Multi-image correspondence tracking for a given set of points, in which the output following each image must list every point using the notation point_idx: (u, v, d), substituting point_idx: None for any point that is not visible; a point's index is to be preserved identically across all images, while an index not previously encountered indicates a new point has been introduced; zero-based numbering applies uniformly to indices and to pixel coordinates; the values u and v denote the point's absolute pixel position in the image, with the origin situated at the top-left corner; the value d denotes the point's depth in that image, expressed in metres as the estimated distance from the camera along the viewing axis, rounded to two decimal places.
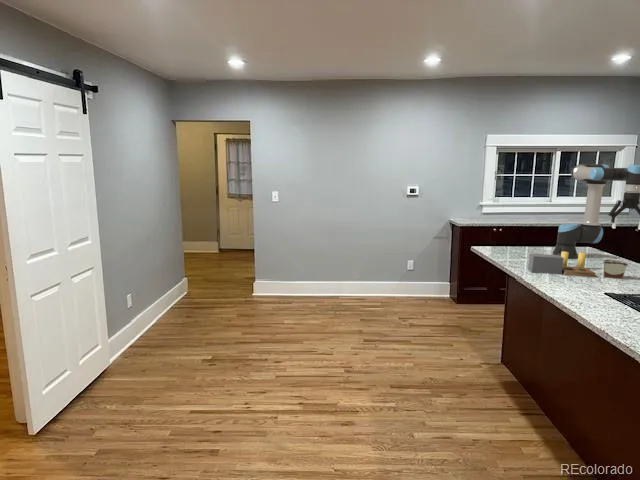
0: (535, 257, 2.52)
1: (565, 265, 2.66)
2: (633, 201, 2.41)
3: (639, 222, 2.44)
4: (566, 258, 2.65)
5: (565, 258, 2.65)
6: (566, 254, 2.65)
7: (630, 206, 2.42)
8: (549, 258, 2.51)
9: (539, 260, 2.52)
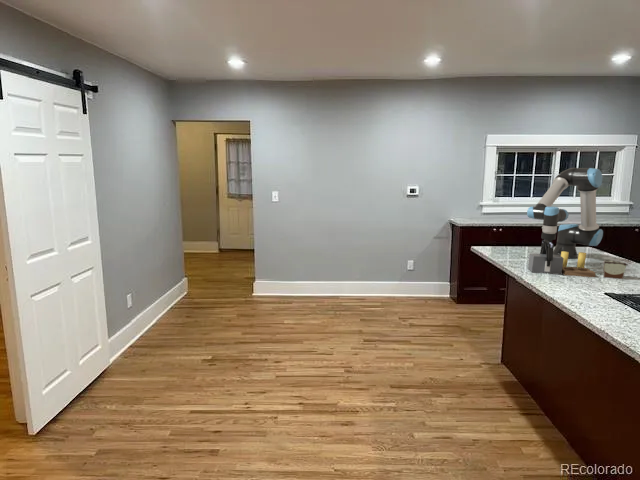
0: (535, 257, 2.52)
1: (565, 265, 2.66)
2: (546, 240, 2.52)
3: None
4: (566, 258, 2.65)
5: (565, 258, 2.65)
6: (566, 254, 2.65)
7: (545, 245, 2.54)
8: (549, 258, 2.51)
9: (539, 260, 2.52)
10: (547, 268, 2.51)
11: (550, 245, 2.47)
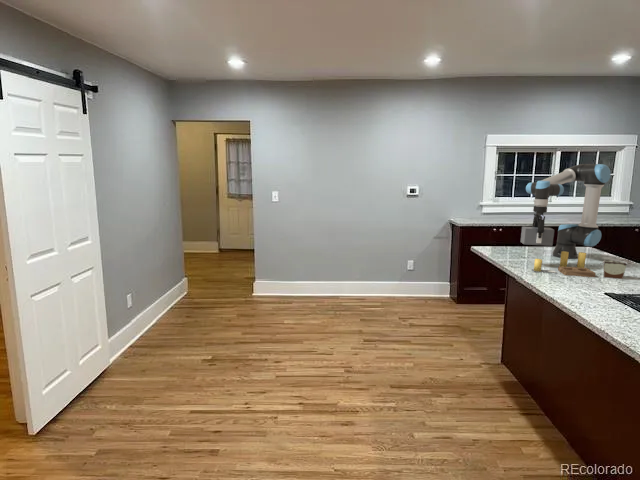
0: (527, 229, 2.62)
1: (565, 265, 2.66)
2: (538, 213, 2.62)
3: None
4: (566, 258, 2.65)
5: (565, 258, 2.65)
6: (566, 254, 2.65)
7: (536, 218, 2.64)
8: None
9: (531, 232, 2.62)
10: (539, 240, 2.61)
11: (541, 217, 2.57)
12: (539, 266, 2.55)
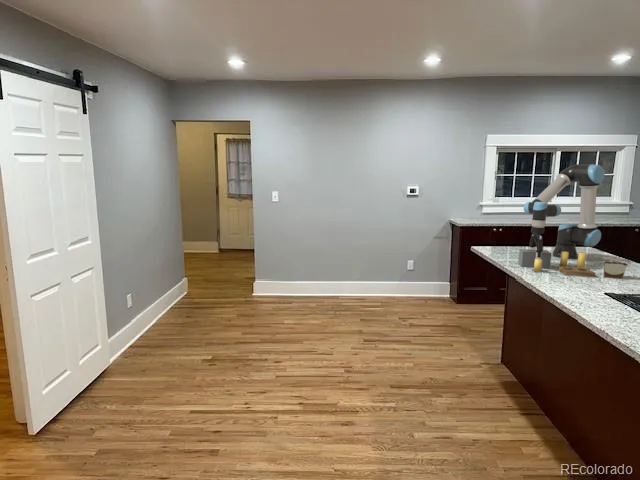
0: (524, 252, 2.65)
1: (565, 265, 2.66)
2: (535, 234, 2.65)
3: None
4: (566, 258, 2.65)
5: (565, 258, 2.65)
6: (566, 254, 2.65)
7: (534, 239, 2.67)
8: None
9: (529, 255, 2.65)
10: None
11: (539, 237, 2.59)
12: (539, 266, 2.55)
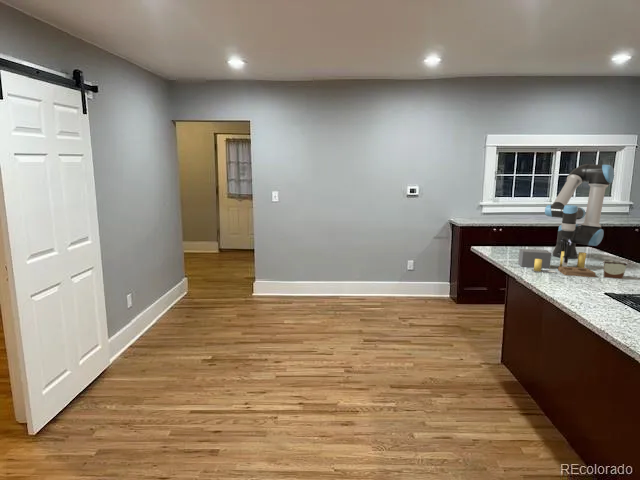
0: (524, 252, 2.65)
1: None
2: None
3: None
4: None
5: None
6: None
7: (564, 242, 2.66)
8: (538, 253, 2.64)
9: (529, 255, 2.65)
10: (564, 264, 2.65)
11: (569, 243, 2.59)
12: (539, 266, 2.55)
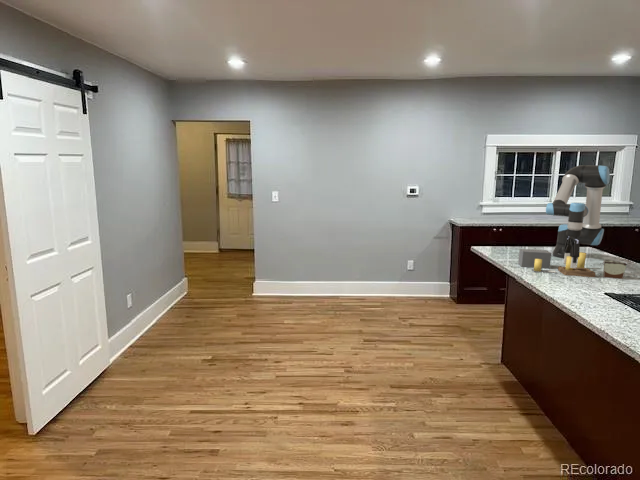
0: (524, 252, 2.65)
1: None
2: (571, 237, 2.49)
3: None
4: None
5: None
6: None
7: (570, 242, 2.51)
8: (538, 253, 2.64)
9: (529, 255, 2.65)
10: (573, 264, 2.47)
11: (576, 241, 2.44)
12: (539, 266, 2.55)
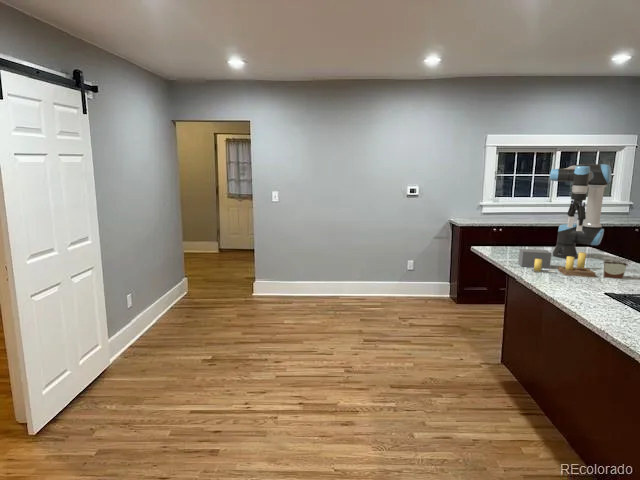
0: (524, 252, 2.65)
1: None
2: (576, 202, 2.46)
3: None
4: (572, 263, 2.51)
5: (571, 263, 2.51)
6: (572, 259, 2.51)
7: (575, 206, 2.47)
8: (538, 253, 2.64)
9: (529, 255, 2.65)
10: (579, 227, 2.42)
11: (581, 203, 2.40)
12: (539, 266, 2.55)
